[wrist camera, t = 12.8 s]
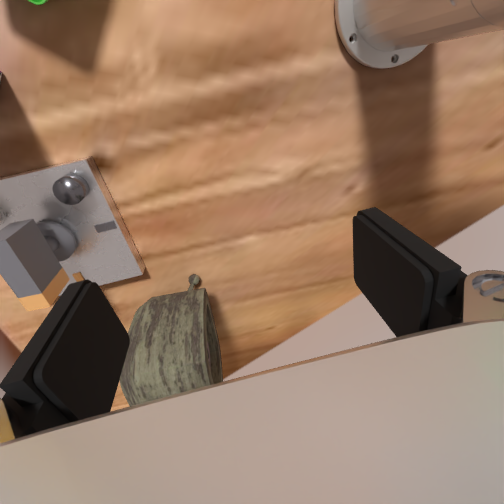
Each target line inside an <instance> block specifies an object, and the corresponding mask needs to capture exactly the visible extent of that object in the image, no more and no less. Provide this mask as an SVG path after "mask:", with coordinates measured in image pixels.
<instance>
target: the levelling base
mask: <svg viewBox="0 0 504 504" xmlns="http://www.w3.org/2000/svg"><path fill="white" fill-rule="evenodd" d="M29 219H34V221H35V222H36V223H39V222H42V221H53V222H57V223H60V224H62V225H64V226H65V227H67V228H68V229H69V230H70V231H71V232H72V233H73V234H74V236H75V238H76V242H77V246H76V250H75V251H74V253H73V254H72V255H71V256H70V257H69V258H68V259H66V260H64V261H60V262H59V263H60V264H61V266H62V267H63V269H64V270H65V272H66V274H67V275H68V277H69V279H70V280H69V281H68V283H67V284H66V286H65V287H64V288H63V290H62V291H61V293H60V294H59V296H60V295H62V294H63V292H64V291H65V289H66V288H67V286H68V285H69V284H71V283H75V282H79V281H83V280H87V279H88V280H90V281H91V282H96V283H97V284H98V285H99V286H100V285H104V284H108V283H112V282H116V281H120V280H124V279H128V278H132V277H136V276H139V275H143V272H144V269H145V265H144V263H143V261H142V259H141V257H140V255H139V253H138V251H137V249H136V247H135V245H134V242H133V240H132V238H131V236H130V234H129V232H128V230H127V228H126V226H125V224H124V222H123V220H122V218H121V215H120V213H119V211H118V209H117V207H116V205H115V203H114V201H113V199H112V197H111V195H110V193H109V191H108V188H107V186H106V184H105V182H104V180H103V178H102V176H101V174H100V172H99V170H98V168H97V166H96V164H95V162H94V159H93V157H92V156H89V157H85V158H81V159H77V160H73V161H69V162H64V163H60V164H56V165H52V166H48V167H44V168H40V169H36V170H31V171H27V172H23V173H19V174H15V175H11V176H7V177H2V178H0V230H1V229H3V228H4V227H6V226H7V225H8V224H10V223H13V222H19V221H24V220H29Z"/></svg>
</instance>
